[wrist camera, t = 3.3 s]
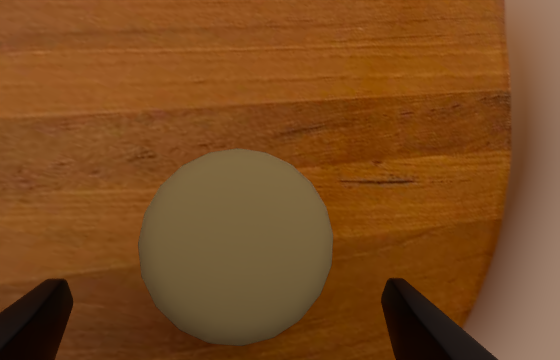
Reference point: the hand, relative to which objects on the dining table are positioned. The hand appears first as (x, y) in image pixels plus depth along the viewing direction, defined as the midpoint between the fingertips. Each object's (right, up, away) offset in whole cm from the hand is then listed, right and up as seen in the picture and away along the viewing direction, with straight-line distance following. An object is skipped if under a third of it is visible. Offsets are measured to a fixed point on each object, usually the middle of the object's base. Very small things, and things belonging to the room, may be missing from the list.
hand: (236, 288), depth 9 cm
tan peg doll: (-1, -1, +9) cm, 9 cm away
